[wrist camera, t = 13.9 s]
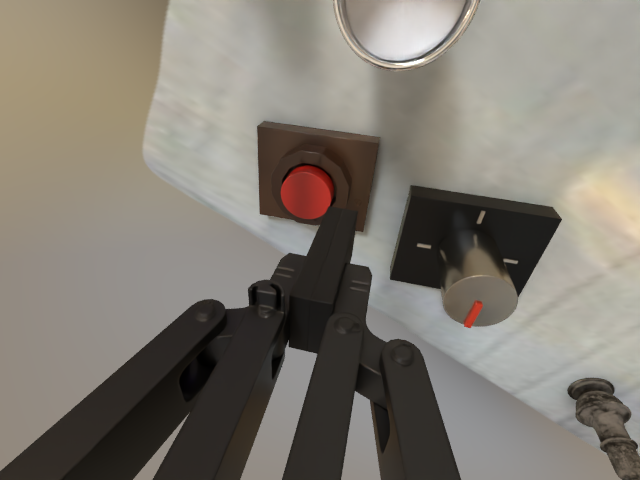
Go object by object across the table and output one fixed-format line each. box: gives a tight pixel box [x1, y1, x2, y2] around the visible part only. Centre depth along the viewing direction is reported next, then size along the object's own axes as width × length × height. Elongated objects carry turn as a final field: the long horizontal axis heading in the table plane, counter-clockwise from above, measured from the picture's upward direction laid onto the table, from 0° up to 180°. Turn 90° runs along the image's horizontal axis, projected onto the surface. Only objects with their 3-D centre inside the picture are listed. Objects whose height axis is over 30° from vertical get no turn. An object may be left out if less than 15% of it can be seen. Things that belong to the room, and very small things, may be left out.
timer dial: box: [436, 229, 518, 328], centre depth 32 cm, size 6×6×8 cm
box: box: [257, 121, 380, 232], centre depth 35 cm, size 12×10×4 cm
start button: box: [281, 165, 334, 219], centre depth 33 cm, size 5×5×2 cm
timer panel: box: [390, 185, 562, 297], centre depth 37 cm, size 14×11×3 cm
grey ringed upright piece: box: [568, 378, 640, 480], centre depth 41 cm, size 6×6×12 cm
